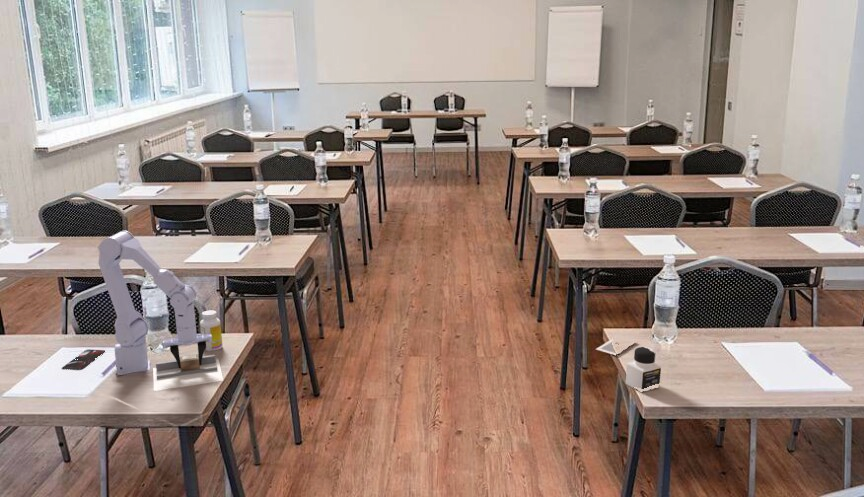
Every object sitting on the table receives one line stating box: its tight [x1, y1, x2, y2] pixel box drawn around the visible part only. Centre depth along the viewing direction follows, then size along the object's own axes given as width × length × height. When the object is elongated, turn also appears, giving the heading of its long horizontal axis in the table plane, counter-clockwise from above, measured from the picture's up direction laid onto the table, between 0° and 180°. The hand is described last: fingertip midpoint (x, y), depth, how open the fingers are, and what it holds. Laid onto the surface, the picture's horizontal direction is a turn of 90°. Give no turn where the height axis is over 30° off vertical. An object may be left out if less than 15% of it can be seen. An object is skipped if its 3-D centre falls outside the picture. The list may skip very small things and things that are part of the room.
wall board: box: [152, 354, 224, 392], centre depth 232 cm, size 20×17×4 cm
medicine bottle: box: [625, 346, 662, 389], centre depth 224 cm, size 7×7×12 cm
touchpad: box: [595, 338, 619, 356], centre depth 253 cm, size 8×15×2 cm, turn 139°
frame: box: [179, 353, 200, 371], centre depth 235 cm, size 6×4×4 cm
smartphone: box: [61, 349, 106, 371], centre depth 244 cm, size 7×1×15 cm
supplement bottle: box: [199, 309, 223, 351], centre depth 251 cm, size 7×7×13 cm
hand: (189, 365), depth 235 cm, fingers closed on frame, 5 cm apart
